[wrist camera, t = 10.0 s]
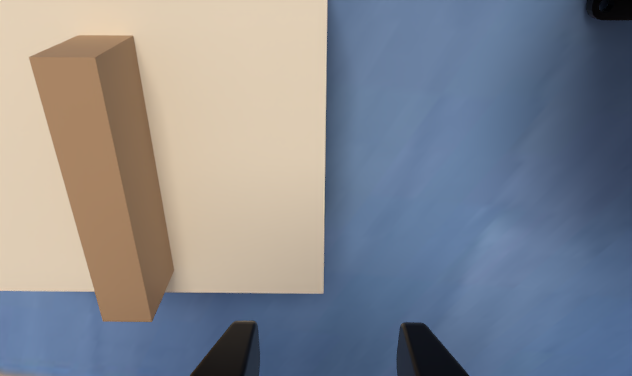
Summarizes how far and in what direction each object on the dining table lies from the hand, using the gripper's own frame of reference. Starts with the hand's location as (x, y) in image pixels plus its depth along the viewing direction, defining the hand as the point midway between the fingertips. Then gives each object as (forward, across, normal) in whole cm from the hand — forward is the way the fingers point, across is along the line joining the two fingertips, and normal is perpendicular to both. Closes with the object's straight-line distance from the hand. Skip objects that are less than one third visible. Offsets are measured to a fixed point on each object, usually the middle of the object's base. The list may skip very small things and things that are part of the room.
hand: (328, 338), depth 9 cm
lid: (+8, +6, 0) cm, 10 cm away
